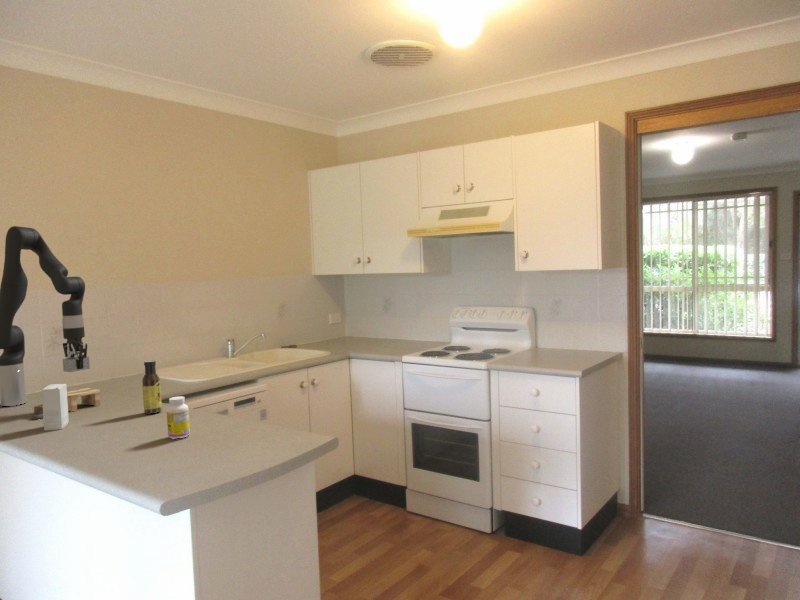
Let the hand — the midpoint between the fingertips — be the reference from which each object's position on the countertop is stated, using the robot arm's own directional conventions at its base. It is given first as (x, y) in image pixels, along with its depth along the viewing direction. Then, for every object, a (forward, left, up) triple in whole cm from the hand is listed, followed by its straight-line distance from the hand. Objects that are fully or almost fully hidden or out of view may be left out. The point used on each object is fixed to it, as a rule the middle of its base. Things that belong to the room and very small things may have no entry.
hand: (76, 368), depth 237 cm
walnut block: (-1, -14, -16) cm, 21 cm away
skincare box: (+23, -21, -16) cm, 35 cm away
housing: (0, 0, -1) cm, 1 cm away
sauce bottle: (+38, +7, -16) cm, 42 cm away
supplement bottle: (+75, -10, -16) cm, 77 cm away
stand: (0, 0, -16) cm, 16 cm away
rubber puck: (+3, -17, -16) cm, 24 cm away
